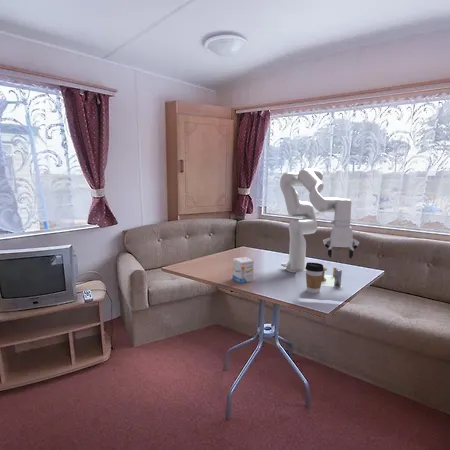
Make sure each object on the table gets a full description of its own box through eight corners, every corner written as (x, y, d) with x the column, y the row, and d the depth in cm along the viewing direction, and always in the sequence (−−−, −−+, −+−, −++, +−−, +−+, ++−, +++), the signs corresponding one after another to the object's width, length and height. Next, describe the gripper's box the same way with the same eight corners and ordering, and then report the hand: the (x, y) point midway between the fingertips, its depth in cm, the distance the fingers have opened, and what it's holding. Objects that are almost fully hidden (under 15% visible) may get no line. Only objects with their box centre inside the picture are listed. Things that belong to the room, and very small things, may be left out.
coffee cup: (301, 290, 155) (303, 261, 152) (318, 290, 155) (319, 261, 153) (307, 297, 146) (309, 266, 144) (324, 296, 147) (326, 266, 145)
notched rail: (315, 275, 174) (315, 266, 173) (314, 274, 176) (315, 266, 175) (336, 276, 172) (336, 268, 171) (335, 275, 174) (336, 267, 173)
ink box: (239, 283, 164) (240, 262, 162) (232, 278, 171) (232, 258, 169) (253, 281, 168) (254, 260, 166) (245, 276, 175) (246, 256, 173)
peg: (334, 286, 157) (335, 271, 156) (333, 284, 160) (334, 269, 159) (341, 286, 156) (342, 271, 155) (340, 284, 159) (341, 269, 158)
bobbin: (315, 281, 164) (315, 269, 163) (314, 277, 170) (314, 266, 169) (326, 282, 163) (327, 270, 162) (325, 278, 169) (326, 266, 168)
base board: (316, 288, 158) (316, 285, 158) (312, 276, 177) (312, 274, 176) (342, 290, 156) (342, 287, 156) (335, 278, 175) (335, 275, 174)
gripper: (324, 224, 151) (323, 258, 153) (362, 225, 148) (360, 260, 150) (322, 222, 158) (321, 254, 161) (358, 223, 155) (356, 256, 158)
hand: (340, 257), depth 155 cm, fingers open, 9 cm apart
